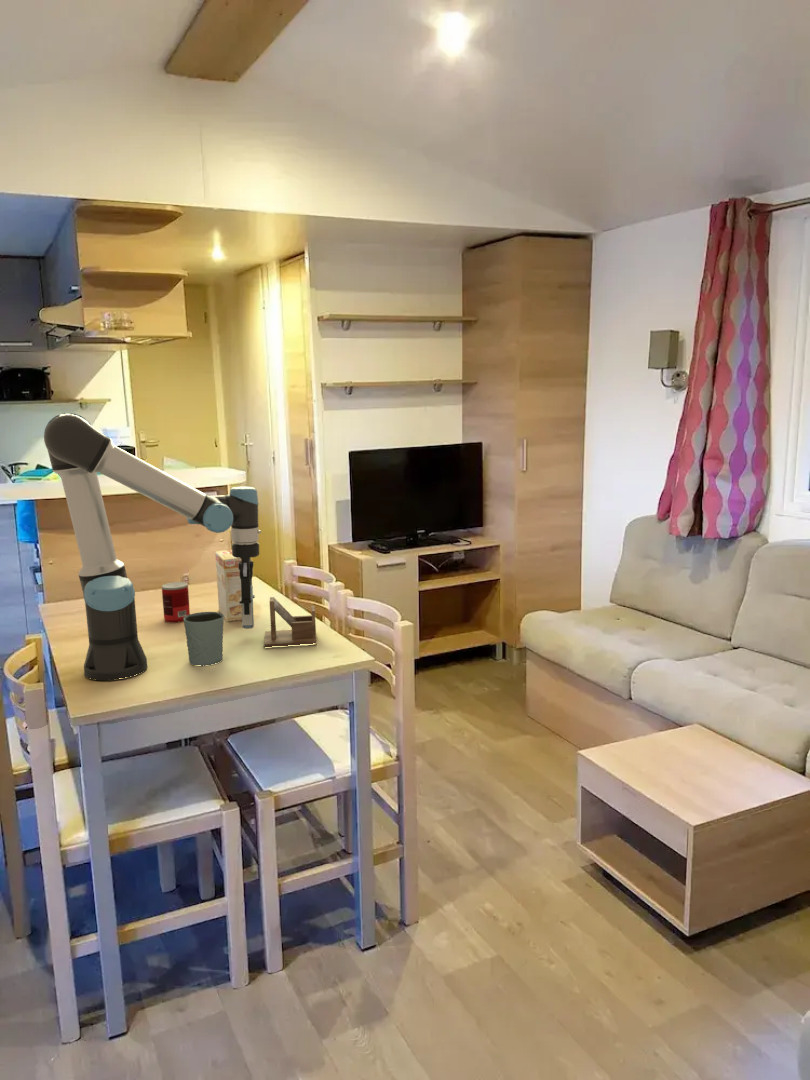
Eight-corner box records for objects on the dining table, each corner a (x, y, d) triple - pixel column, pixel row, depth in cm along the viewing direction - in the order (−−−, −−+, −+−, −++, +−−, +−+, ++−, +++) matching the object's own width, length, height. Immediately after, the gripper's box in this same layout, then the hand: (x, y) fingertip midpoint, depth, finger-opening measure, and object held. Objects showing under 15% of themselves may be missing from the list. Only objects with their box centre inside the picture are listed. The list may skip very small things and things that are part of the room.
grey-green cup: (180, 666, 208) (177, 621, 206) (195, 653, 218) (192, 610, 216) (218, 667, 207) (215, 622, 205) (231, 654, 217) (229, 611, 214)
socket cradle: (316, 645, 223) (314, 602, 221) (264, 648, 221) (262, 605, 219) (315, 632, 235) (313, 591, 232) (265, 635, 233) (263, 594, 231)
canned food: (193, 615, 254) (191, 581, 252) (184, 623, 246) (182, 588, 244) (170, 615, 255) (167, 581, 253) (160, 622, 247) (157, 587, 245)
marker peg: (253, 628, 230) (252, 587, 228) (241, 628, 229) (240, 587, 227) (253, 625, 233) (252, 584, 231) (242, 625, 232) (241, 584, 230)
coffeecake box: (249, 619, 249) (246, 557, 246) (226, 622, 247) (222, 559, 243) (240, 607, 263) (236, 548, 259) (218, 610, 260) (214, 550, 257)
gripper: (257, 547, 219) (260, 630, 223) (260, 536, 235) (262, 615, 239) (229, 547, 218) (232, 631, 222) (233, 537, 234) (236, 615, 238)
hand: (247, 622), depth 231 cm, fingers closed on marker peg, 3 cm apart
